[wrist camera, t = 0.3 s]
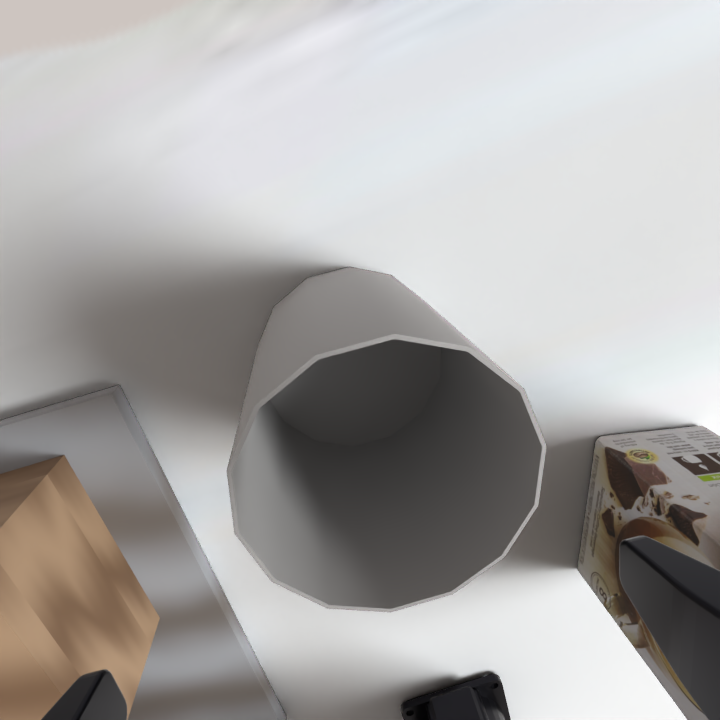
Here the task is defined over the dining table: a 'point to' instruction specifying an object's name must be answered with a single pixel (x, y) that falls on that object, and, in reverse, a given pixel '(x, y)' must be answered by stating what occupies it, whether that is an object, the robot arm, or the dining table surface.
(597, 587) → the coffee box
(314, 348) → the cup
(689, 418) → the dining table surface
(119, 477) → the wooden block on base
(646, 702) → the dining table surface
